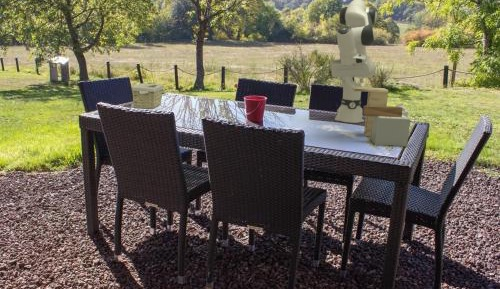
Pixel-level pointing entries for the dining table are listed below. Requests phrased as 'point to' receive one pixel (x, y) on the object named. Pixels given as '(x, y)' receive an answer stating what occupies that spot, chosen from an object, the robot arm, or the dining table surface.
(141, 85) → the storage basket
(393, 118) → the letter
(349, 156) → the dining table surface
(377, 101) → the pine shelf
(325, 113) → the dining table surface
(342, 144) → the dining table surface
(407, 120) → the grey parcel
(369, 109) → the walnut bar
